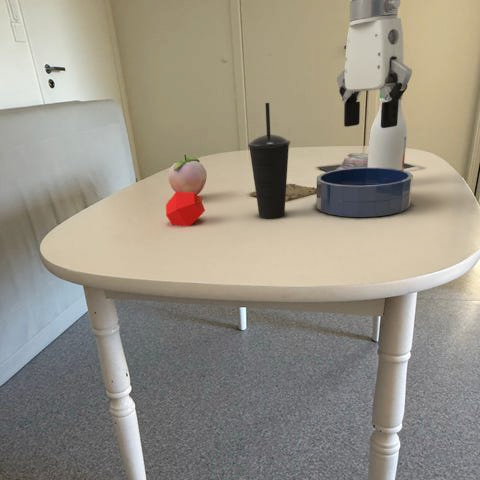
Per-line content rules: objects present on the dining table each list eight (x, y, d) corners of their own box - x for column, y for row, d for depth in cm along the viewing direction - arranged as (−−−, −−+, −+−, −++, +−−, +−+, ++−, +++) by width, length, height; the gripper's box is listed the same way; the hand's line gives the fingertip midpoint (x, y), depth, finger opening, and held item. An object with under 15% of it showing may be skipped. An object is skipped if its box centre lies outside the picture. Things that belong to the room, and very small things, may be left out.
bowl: (366, 192, 98) (367, 164, 95) (429, 208, 84) (433, 175, 81) (299, 207, 91) (298, 177, 89) (356, 226, 77) (357, 191, 75)
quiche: (352, 180, 110) (353, 163, 108) (315, 168, 127) (316, 154, 125) (424, 169, 115) (426, 153, 113) (380, 160, 132) (381, 145, 130)
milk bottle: (397, 191, 97) (407, 88, 87) (362, 190, 100) (367, 90, 91) (405, 184, 102) (415, 86, 93) (371, 182, 106) (377, 88, 96)
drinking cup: (256, 224, 82) (249, 105, 73) (249, 214, 89) (242, 104, 80) (296, 220, 83) (294, 101, 74) (286, 210, 90) (283, 100, 80)
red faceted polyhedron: (152, 200, 82) (189, 183, 79) (168, 198, 88) (202, 182, 86) (167, 235, 84) (203, 220, 81) (181, 231, 90) (216, 217, 87)
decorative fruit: (183, 194, 110) (177, 151, 105) (213, 195, 107) (209, 151, 102) (164, 204, 102) (157, 158, 97) (196, 205, 99) (190, 158, 94)
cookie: (287, 185, 109) (287, 181, 109) (323, 192, 100) (323, 188, 100) (248, 195, 103) (248, 191, 103) (282, 203, 94) (282, 198, 94)
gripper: (432, 1, 67) (422, 124, 75) (356, 20, 81) (354, 122, 89) (395, 3, 64) (388, 130, 72) (322, 22, 78) (323, 127, 86)
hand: (369, 126), depth 81 cm, fingers open, 9 cm apart
